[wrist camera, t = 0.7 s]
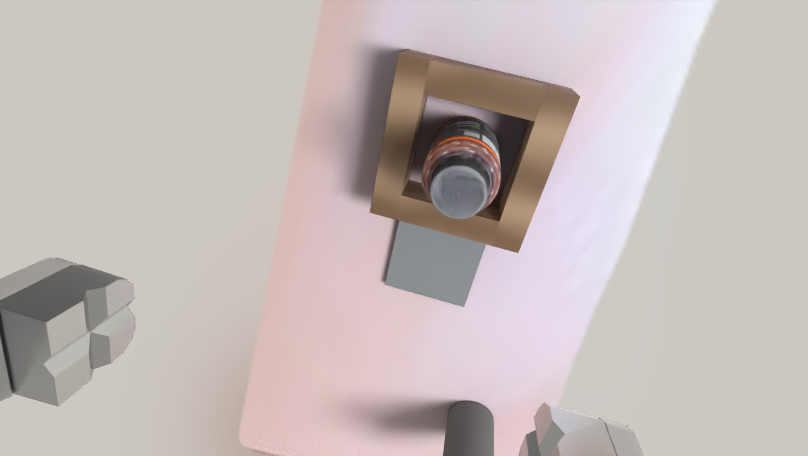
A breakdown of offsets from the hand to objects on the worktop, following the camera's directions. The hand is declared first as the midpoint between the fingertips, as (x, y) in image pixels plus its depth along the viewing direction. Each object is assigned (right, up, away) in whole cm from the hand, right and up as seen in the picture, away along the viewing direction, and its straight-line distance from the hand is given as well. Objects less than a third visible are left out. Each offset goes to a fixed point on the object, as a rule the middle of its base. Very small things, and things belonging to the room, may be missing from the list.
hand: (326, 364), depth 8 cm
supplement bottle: (+7, +10, +30) cm, 33 cm away
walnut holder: (+7, +10, +30) cm, 33 cm away
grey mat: (+5, -1, +36) cm, 37 cm away
